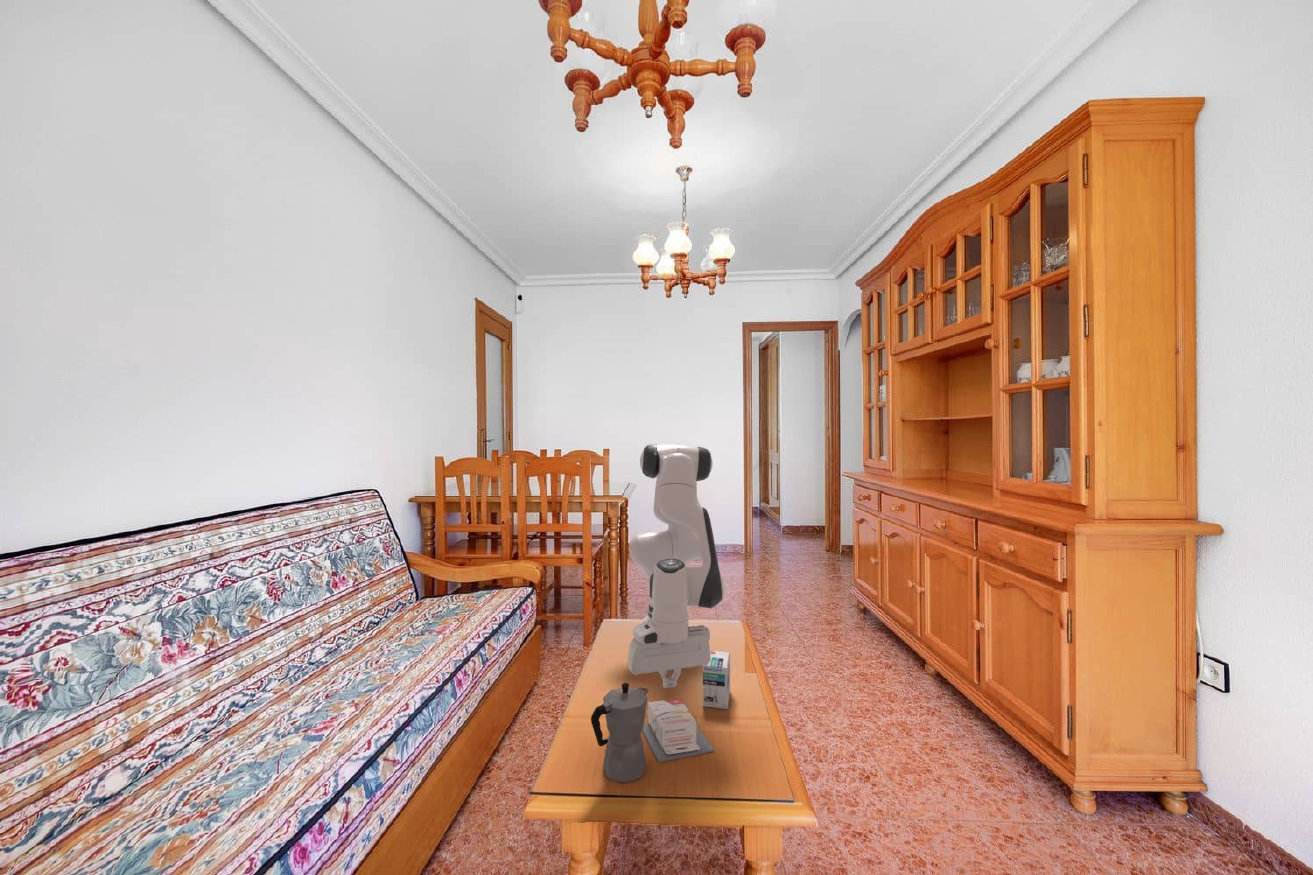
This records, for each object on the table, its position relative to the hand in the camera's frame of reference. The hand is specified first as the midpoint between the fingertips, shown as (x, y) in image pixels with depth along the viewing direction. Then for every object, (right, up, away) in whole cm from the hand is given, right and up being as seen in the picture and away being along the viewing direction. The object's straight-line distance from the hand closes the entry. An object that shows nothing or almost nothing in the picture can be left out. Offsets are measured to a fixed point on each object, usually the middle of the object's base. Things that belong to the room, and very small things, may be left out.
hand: (669, 686), depth 124 cm
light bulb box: (+13, -11, +15) cm, 22 cm away
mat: (+1, -10, -4) cm, 11 cm away
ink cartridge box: (-1, -7, +4) cm, 8 cm away
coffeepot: (-11, -10, -16) cm, 22 cm away
